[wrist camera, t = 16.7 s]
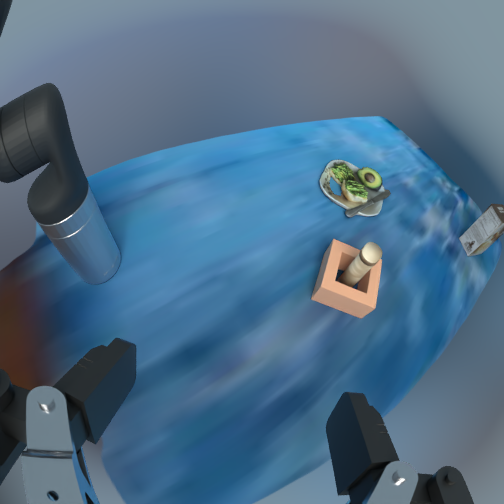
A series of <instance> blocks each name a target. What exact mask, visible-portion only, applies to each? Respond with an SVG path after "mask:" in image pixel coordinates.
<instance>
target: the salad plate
mask: <svg viewBox="0 0 504 504" xmlns="http://www.w3.org/2000/svg"><path fill="white" fill-rule="evenodd" d="M331 177H332V178H333V180H335V181H336V182H337V183H338V184H339V185H340V186H341V189H342V192H341V196H338V195H335V194H334V193H333V192H332V190H331V188H330V185H329V184H330V183H329V181H330V178H331ZM319 183H320V187H321V189H322V191H323V193H324V194H325V195H326V196H327V197H328V198H329V199H330V200H331V201H332V202H334V203H335V204H337V205H339V206H341V207H343V208H344V209H346V210H347V211H345V214H346V216H347V217H353V216H355V215H362V216H366V217H368V216H376V215H377V214H379V212H380V210H381V207H382V203H383V199H385V198H387V197H388V196H389V195H390V191H389V190H385V189H384V187H383V185H382V178H381V176H380V175H379V173H378V172H376V171H375V170H373V169H371V168H368V167H365V168H364V167H363V168H362V169H359V168H358V167H356V166H354V165H352V164H351V163H349V162H346V161H343V160H333V161H331V162H329V163H328V165H327V166H326V168H325V170H324V172H323V174H322V175H321V178H320V180H319Z"/></svg>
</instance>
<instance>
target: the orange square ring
mask: <svg viewBox="0 0 504 504" xmlns="http://www.w3.org/2000/svg"><path fill="white" fill-rule="evenodd" d="M360 251H361V250H359V249H356V248H354V247H352V246H349V245H347V244H345V243H342V242H340V241H338V240H335V239H333V241H332V242H331V244H330V245H329V247H328V249H327V250H326V252H325V253H324V257H323V260H322V264H321V267H320V271H319V274H318V277H317V281H316V284H315V287H314V291H313V294H312V297H311V299H312V300H315V301H317V302H320V303H322V304H325V305H327V306H330V307H333V308H335V309H338V310H340V311H343V312H345V313H348V314H351V315H353V316H356V317H358V318H363V317H364V316H366V315H367V314H368V313H370V312H371V311H372V310H374V309H375V307H376V300H377V294H378V287H379V280H380V273H381V264H382V260H381V259H379V261H378V262H377V263H376V265H374V266H373V267H372V268H371V269H370V270H369V271H368V272H367V273H366V274H365V275H364V276H363V277H362V278H361V279H360V280H359V283H358V288H357V290H356V289H354V288H351V287H349V286H346V285H344V284H342V283H339V282H337V281H335V279H336V275H337V271H338V269H340V270H343V271H345V270H346V269H347V268H348V266H349V265H350V264H351V263H352V261H353V260H354V259H355V258H356V257H357V255H358V254H359V253H360Z"/></svg>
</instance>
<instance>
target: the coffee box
mask: <svg viewBox="0 0 504 504" xmlns="http://www.w3.org/2000/svg"><path fill="white" fill-rule="evenodd" d="M503 233H504V205H500V204H491V205H490V206H489V207H488V209H487V210H486V211H485V212H484V213H483V214H482V215H481V216H480V217H479V218H478V219H477V220H476V221H475V223H474V224H473V225H472V226H471V227H470V228H469V229H468V230H467V231H466V232H465V233H464V234H463V235H462V236H461V237H460V238H459V239H460V241H461V243H462V245H463V247H464V249H465V251H466V253H467V255H468V256H473V255H478V254H482V253H483V252H484V251H485V250H486V249H487V248H488V247H489V246H490V245H492V244H493V243H494V242H495V241H496V240H497V239H498V238H499V237H500V236H501V235H502V234H503Z"/></svg>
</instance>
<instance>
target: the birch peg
mask: <svg viewBox="0 0 504 504" xmlns="http://www.w3.org/2000/svg"><path fill="white" fill-rule="evenodd" d="M381 257H382V250H381V248H380V247H379V246H378V245H377V244H375V243H373V242H369V243H367V244H366V245H365V246H364V247H363V248H362V249H361V251H360V253H359V254H358V255H357V257H356V258H355V259H354V260H353V261H352V263H351V264H350V265H349V266H348V268H347V269H346V270H345V271H344V272H343V274H342V275H341V276H340V277H339V278H338V279H337V282H339V283H342V284H344V285H346V286H349V287H351V288H352V287H353V286H354V285H355V284H356V283H357V282H358V281H359V280H360V279H361V278H362V277H363V276H364V275H365V274H366V273H367V272H368V271H369V270H370V269H371V268H372V267H373V266H374V265H376V263H377V262H378V261H379V259H380V258H381Z"/></svg>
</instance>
